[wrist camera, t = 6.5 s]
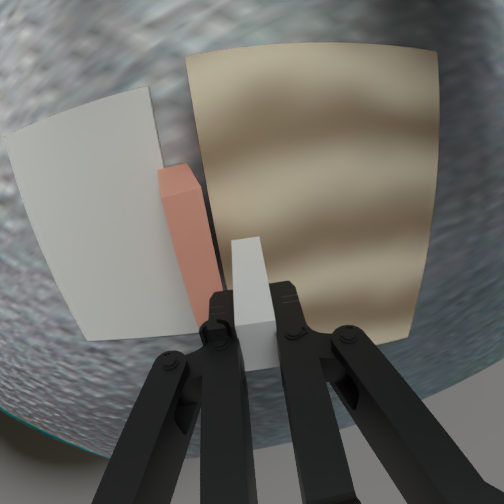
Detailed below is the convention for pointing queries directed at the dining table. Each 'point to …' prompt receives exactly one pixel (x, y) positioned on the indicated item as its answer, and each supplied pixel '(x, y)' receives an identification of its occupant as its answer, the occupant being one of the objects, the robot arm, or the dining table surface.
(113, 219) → the mat
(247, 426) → the robot arm
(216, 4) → the dining table surface
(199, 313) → the block
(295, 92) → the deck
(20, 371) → the dining table surface
